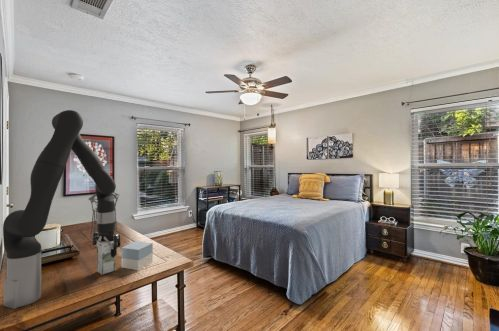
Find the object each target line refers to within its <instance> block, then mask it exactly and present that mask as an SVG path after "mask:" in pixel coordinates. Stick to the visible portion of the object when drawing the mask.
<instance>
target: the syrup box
mask: <svg viewBox="0 0 499 331" xmlns="http://www.w3.org/2000/svg"><path fill="white" fill-rule="evenodd" d="M111 242H113V240H112V241H111ZM112 245H113V246H114V243H113V244H112ZM97 247H98V248H97ZM97 247H96V255H97V264H96V268H97V269H96V271H97V273H99V274H100V275H101V276H103V275H106V274H109V273H112V272H115V271H116V270H115V269H116V256H114V257H111V247H110V246H109V245H108V243H107V242H106V241H98V246H97Z"/></svg>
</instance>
